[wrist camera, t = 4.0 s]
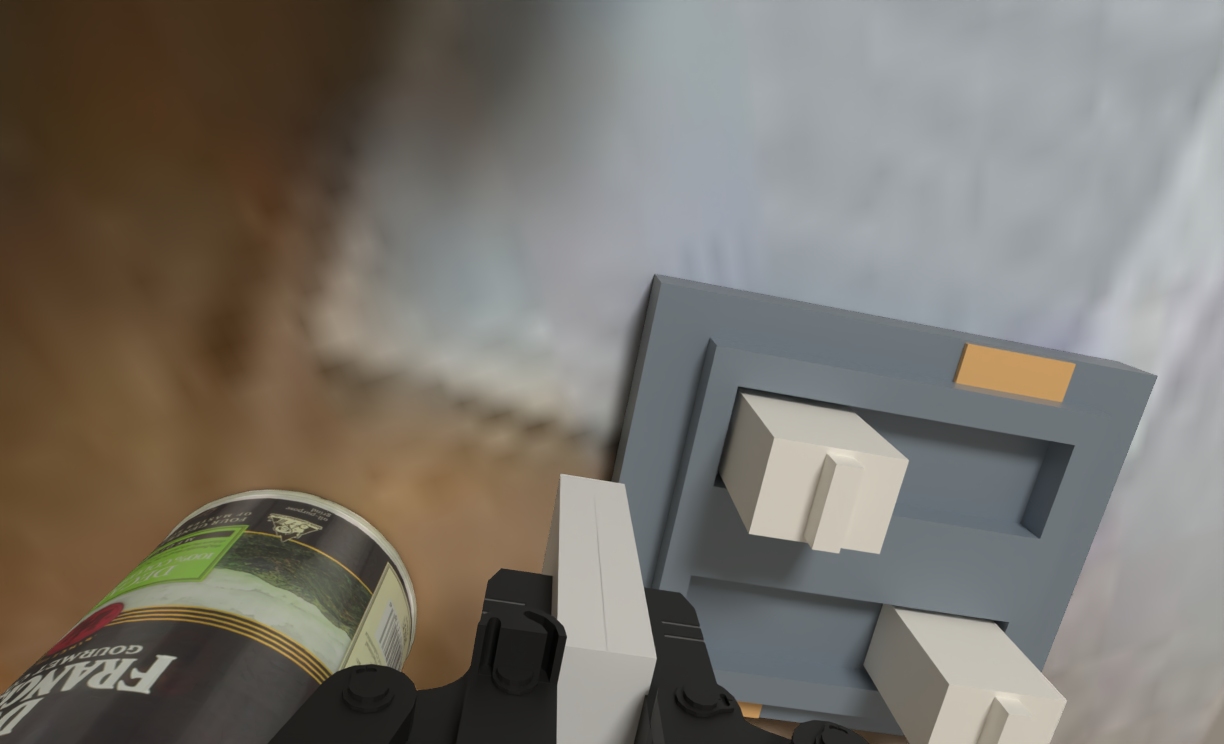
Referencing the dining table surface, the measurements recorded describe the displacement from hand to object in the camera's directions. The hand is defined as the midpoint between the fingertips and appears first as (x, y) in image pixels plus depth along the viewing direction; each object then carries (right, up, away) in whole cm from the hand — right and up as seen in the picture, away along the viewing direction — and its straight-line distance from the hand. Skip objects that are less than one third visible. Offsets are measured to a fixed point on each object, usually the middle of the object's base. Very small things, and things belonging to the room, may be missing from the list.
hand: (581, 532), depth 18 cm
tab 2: (+13, -6, +12) cm, 18 cm away
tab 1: (+7, +1, +9) cm, 11 cm away
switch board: (+10, -2, +12) cm, 16 cm away
